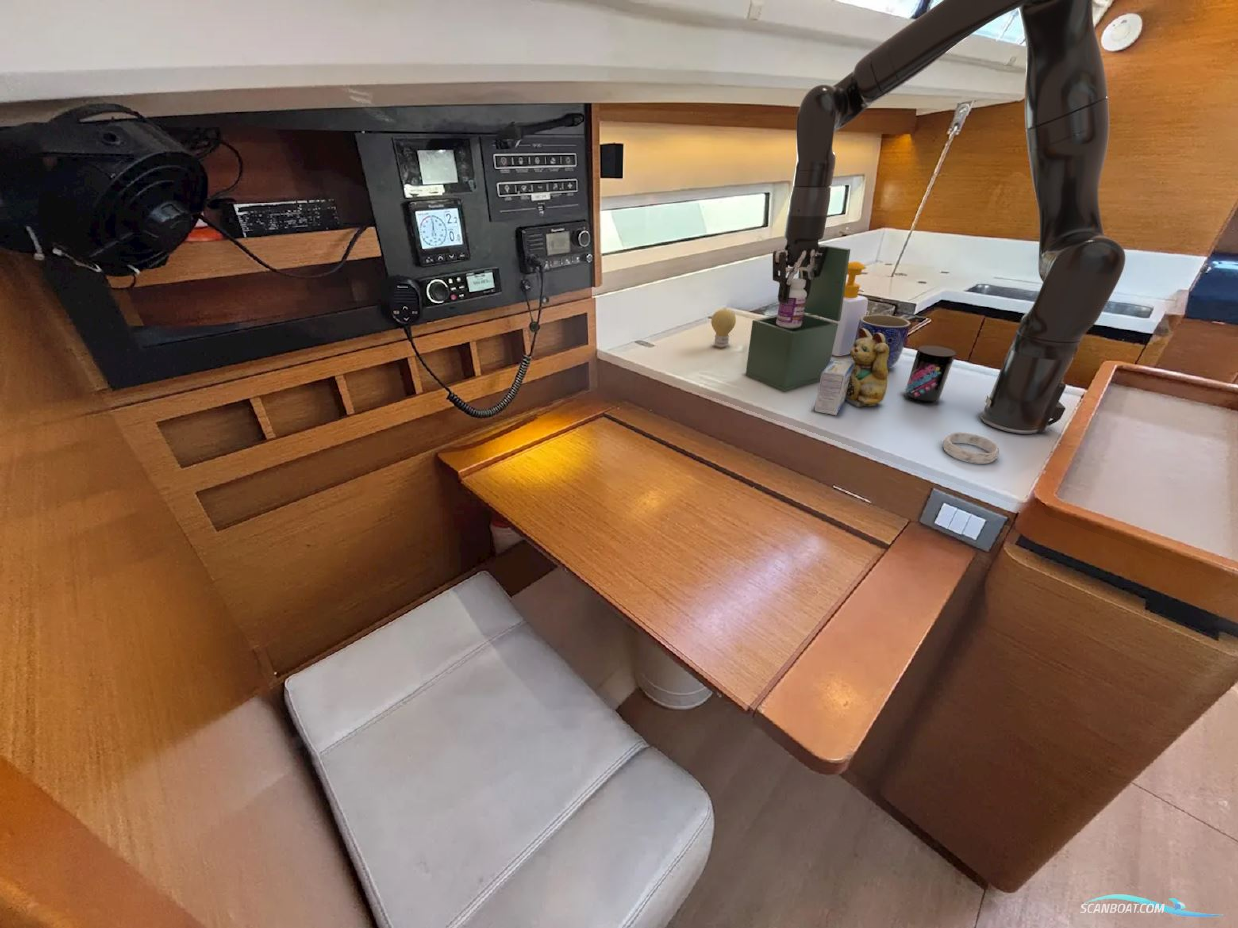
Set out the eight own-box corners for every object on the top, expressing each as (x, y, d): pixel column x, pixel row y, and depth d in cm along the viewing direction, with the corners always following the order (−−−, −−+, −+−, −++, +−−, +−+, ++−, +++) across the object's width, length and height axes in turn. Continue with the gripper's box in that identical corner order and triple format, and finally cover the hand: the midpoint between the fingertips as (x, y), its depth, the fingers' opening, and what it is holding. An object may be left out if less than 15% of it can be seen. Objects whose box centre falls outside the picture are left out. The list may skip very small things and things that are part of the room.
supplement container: (898, 391, 109) (912, 345, 104) (930, 392, 109) (946, 345, 103) (911, 404, 103) (927, 356, 98) (945, 405, 103) (962, 356, 97)
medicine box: (836, 416, 99) (846, 375, 94) (813, 411, 101) (821, 371, 96) (844, 402, 105) (854, 362, 100) (822, 397, 107) (830, 359, 102)
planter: (907, 370, 120) (922, 324, 114) (871, 376, 117) (884, 329, 111) (873, 356, 129) (885, 312, 123) (839, 361, 126) (849, 317, 120)
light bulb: (737, 346, 137) (741, 309, 132) (724, 351, 133) (728, 314, 128) (717, 341, 140) (721, 305, 135) (704, 346, 137) (707, 309, 131)
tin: (783, 391, 110) (793, 333, 103) (745, 374, 118) (752, 320, 112) (826, 379, 116) (838, 323, 109) (787, 363, 125) (796, 311, 118)
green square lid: (847, 250, 100) (850, 249, 100) (801, 243, 109) (803, 242, 109) (837, 321, 109) (840, 320, 109) (795, 309, 117) (797, 308, 118)
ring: (971, 439, 90) (975, 430, 89) (1008, 462, 83) (1012, 452, 82) (931, 443, 89) (934, 433, 88) (964, 466, 82) (969, 456, 81)
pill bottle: (796, 330, 106) (804, 283, 101) (772, 326, 109) (778, 280, 104) (804, 324, 110) (813, 279, 105) (781, 321, 113) (788, 276, 108)
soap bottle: (820, 338, 142) (837, 255, 130) (862, 352, 131) (885, 262, 120) (796, 344, 137) (812, 258, 126) (838, 358, 127) (859, 266, 116)
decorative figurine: (830, 395, 108) (845, 326, 100) (859, 389, 110) (877, 321, 103) (863, 412, 100) (883, 339, 92) (894, 406, 103) (916, 334, 95)
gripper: (796, 216, 92) (782, 309, 101) (847, 211, 98) (829, 299, 107) (766, 213, 98) (755, 301, 106) (816, 209, 104) (802, 293, 113)
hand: (792, 300), depth 107 cm, fingers closed on pill bottle, 5 cm apart
